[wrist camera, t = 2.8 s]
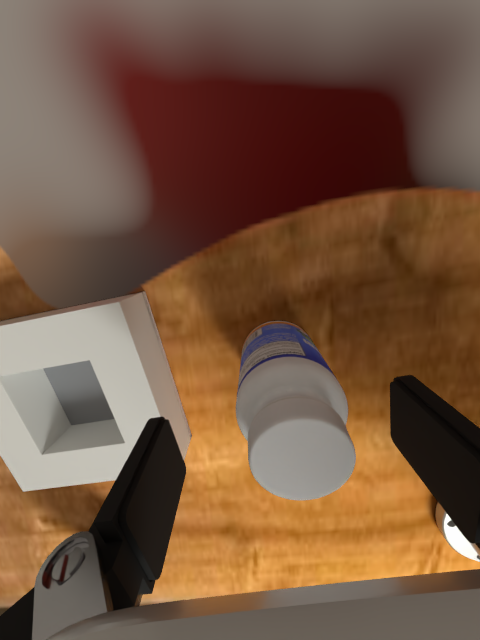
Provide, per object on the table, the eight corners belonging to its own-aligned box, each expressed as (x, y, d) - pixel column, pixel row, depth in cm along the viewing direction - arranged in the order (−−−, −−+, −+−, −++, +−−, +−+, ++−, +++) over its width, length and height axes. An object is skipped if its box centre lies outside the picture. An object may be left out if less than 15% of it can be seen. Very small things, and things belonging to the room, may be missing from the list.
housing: (144, 291, 17) (119, 301, 14) (191, 435, 21) (180, 471, 17) (-13, 323, 18) (-72, 340, 15) (57, 454, 22) (23, 491, 19)
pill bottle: (319, 374, 18) (389, 503, 9) (252, 390, 19) (254, 526, 10) (303, 309, 17) (367, 384, 8) (231, 329, 18) (211, 420, 8)
